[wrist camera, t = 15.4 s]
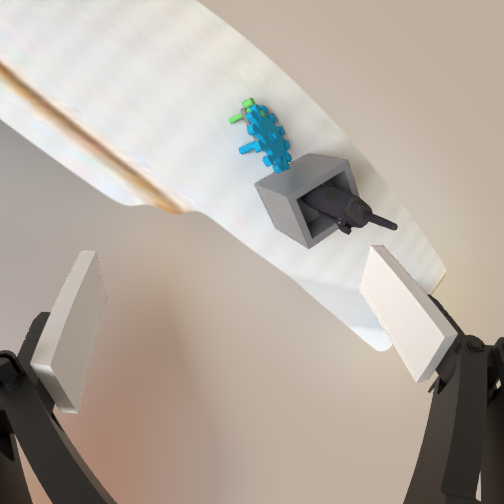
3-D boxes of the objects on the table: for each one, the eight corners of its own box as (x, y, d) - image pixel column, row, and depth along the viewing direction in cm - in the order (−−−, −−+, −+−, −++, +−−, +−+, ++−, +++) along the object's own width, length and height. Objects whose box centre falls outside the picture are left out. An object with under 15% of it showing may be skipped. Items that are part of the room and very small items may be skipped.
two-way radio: (332, 195, 45) (409, 223, 32) (317, 222, 45) (390, 258, 33) (305, 176, 42) (383, 198, 29) (289, 204, 43) (362, 238, 30)
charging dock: (254, 183, 46) (286, 196, 38) (307, 153, 48) (347, 159, 39) (276, 230, 50) (309, 251, 42) (325, 198, 52) (364, 213, 43)
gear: (301, 157, 46) (282, 180, 38) (268, 170, 49) (243, 195, 42) (268, 91, 42) (240, 99, 34) (235, 108, 45) (203, 120, 38)
